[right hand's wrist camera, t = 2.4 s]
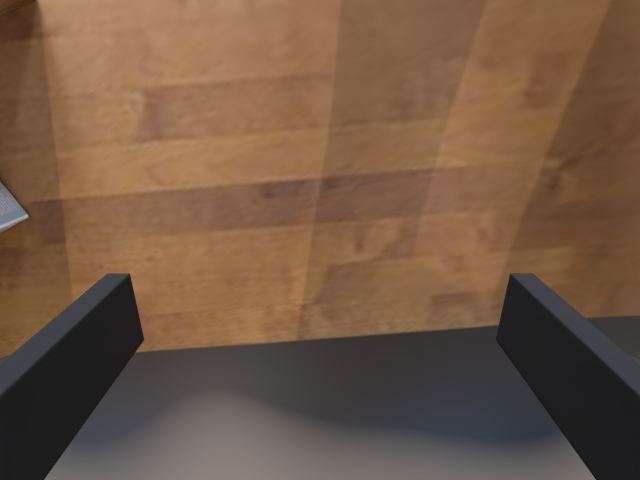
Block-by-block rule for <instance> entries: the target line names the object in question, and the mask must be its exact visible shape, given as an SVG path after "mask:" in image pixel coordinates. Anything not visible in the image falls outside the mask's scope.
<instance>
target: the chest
mask: <svg viewBox="0 0 640 480" xmlns="http://www.w3.org/2000/svg"><path fill="white" fill-rule="evenodd" d="M32 1H35V0H0V15H3V14H5V13H7V12H10V11H12V10H14V9H16V8H19V7H21V6H23V5H26V4H28V3H30V2H32Z"/></svg>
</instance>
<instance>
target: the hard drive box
mask: <svg viewBox="0 0 640 480" xmlns="http://www.w3.org/2000/svg"><path fill="white" fill-rule="evenodd" d="M28 217H29V216H28V214H27V213H26V212H25V211H24V209H23V208H22V207H21V206H20V205H19V203H18V202H17V201H16V200H15V198H14V197H13V196H12V195H11V193H10V192H9V191H8V190H7V189H6V187H5V186H4V185H3V184H2V182H1V181H0V233H1V232H3V231H5V230H6V229H8V228H10V227H12V226H14V225H16V224H17V223H19V222H21V221H23V220H25V219H27V218H28Z"/></svg>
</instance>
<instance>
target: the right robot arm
mask: <svg viewBox="0 0 640 480" xmlns="http://www.w3.org/2000/svg"><path fill="white" fill-rule="evenodd" d="M143 341H144V337H143V332H142V328H141V323H140V318H139V314H138V309H137V305H136V300H135V295H134V291H133V286H132V282H131V277H130V274H107V275H105V276H104V277H103V278H102V279H101V280H99V281H98V282H97V283H96V284H95V285H94V286H92V287H91V288H90V289H89V290H88V291H86V292H85V293H84V294H83V295H82V296H81V297H79V298H78V299H77V300H76V301H75V302H73V303H72V304H71V305H70V306H69V307H67V308H66V309H65V310H64V311H63V312H62V313H60V314H59V315H58V316H57V317H56V318H54V319H53V320H52V321H51V322H50V323H49V324H47V325H46V326H45V327H44V328H43V329H41V330H40V331H39V332H38V333H37V334H36V335H34V336H33V337H32V338H31V339H30V340H28V341H27V342H26V343H25V344H24V345H23V346H21V347H20V348H19V349H18V350H17V351H15V352H14V353H13V354H12V355H11V356H5V357H4V358H2V359H0V480H44V479H45V477H46V476H47V474H48V473H49V472H50V470H51V469H52V467H53V466H54V465H55V463H56V462H57V461H58V459H59V458H60V456H61V455H62V454H63V452H64V451H65V449H66V448H67V447H68V445H69V444H70V442H71V441H72V440H73V438H74V437H75V435H76V434H77V433H78V431H79V430H80V428H81V427H82V426H83V424H84V423H85V421H86V420H87V419H88V417H89V416H90V415H91V413H92V412H93V410H94V409H95V408H96V406H97V405H98V403H99V402H100V401H101V399H102V398H103V396H104V395H105V394H106V392H107V391H108V389H109V388H110V387H111V385H112V384H113V382H114V381H115V380H116V378H117V377H118V375H119V374H120V373H121V371H122V370H123V368H124V367H125V366H126V364H127V363H128V361H129V360H130V359H131V357H132V356H133V354H134V353H135V352H136V350H137V349H138V348H139V346H140V345H141V343H142V342H143ZM496 341H497V342H498V343H499V345H500V346H501V347H502V349H503V350H504V352H505V353H506V354H507V356H508V357H509V359H510V360H511V361H512V363H513V364H514V366H515V367H516V368H517V370H518V371H519V373H520V374H521V375H522V377H523V378H524V380H525V381H526V382H527V384H528V385H529V387H530V388H531V389H532V391H533V392H534V394H535V395H536V396H537V398H538V399H539V401H540V402H541V403H542V405H543V406H544V408H545V409H546V410H547V412H548V413H549V415H550V416H551V417H552V419H553V420H554V421H555V423H556V424H557V426H558V427H559V428H560V430H561V431H562V433H563V434H564V435H565V437H566V438H567V440H568V441H569V442H570V444H571V445H572V447H573V448H574V449H575V451H576V452H577V454H578V455H579V456H580V458H581V459H582V461H583V462H584V463H585V465H586V466H587V468H588V469H589V470H590V472H591V473H592V475H593V476H594V477H595V479H596V480H640V358H639V357H637V356H636V355H628V354H627V353H626V352H625V351H623V350H622V349H621V348H620V347H619V346H617V345H616V344H615V343H614V342H613V341H612V340H610V339H609V338H608V337H607V336H606V335H604V334H603V333H602V332H601V331H600V330H598V329H597V328H596V327H595V326H594V325H593V324H591V323H590V322H589V321H588V320H587V319H586V318H584V317H583V316H582V315H581V314H580V313H578V312H577V311H576V310H575V309H574V308H573V307H571V306H570V305H569V304H568V303H567V302H565V301H564V300H563V299H562V298H561V297H559V296H558V295H557V294H556V293H555V292H554V291H552V290H551V289H550V288H549V287H548V286H546V285H545V284H544V283H543V282H542V281H541V280H539V279H538V278H537V277H536V276H535V275H533V274H510V277H509V282H508V286H507V291H506V295H505V300H504V305H503V309H502V314H501V318H500V323H499V328H498V332H497V337H496Z"/></svg>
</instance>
